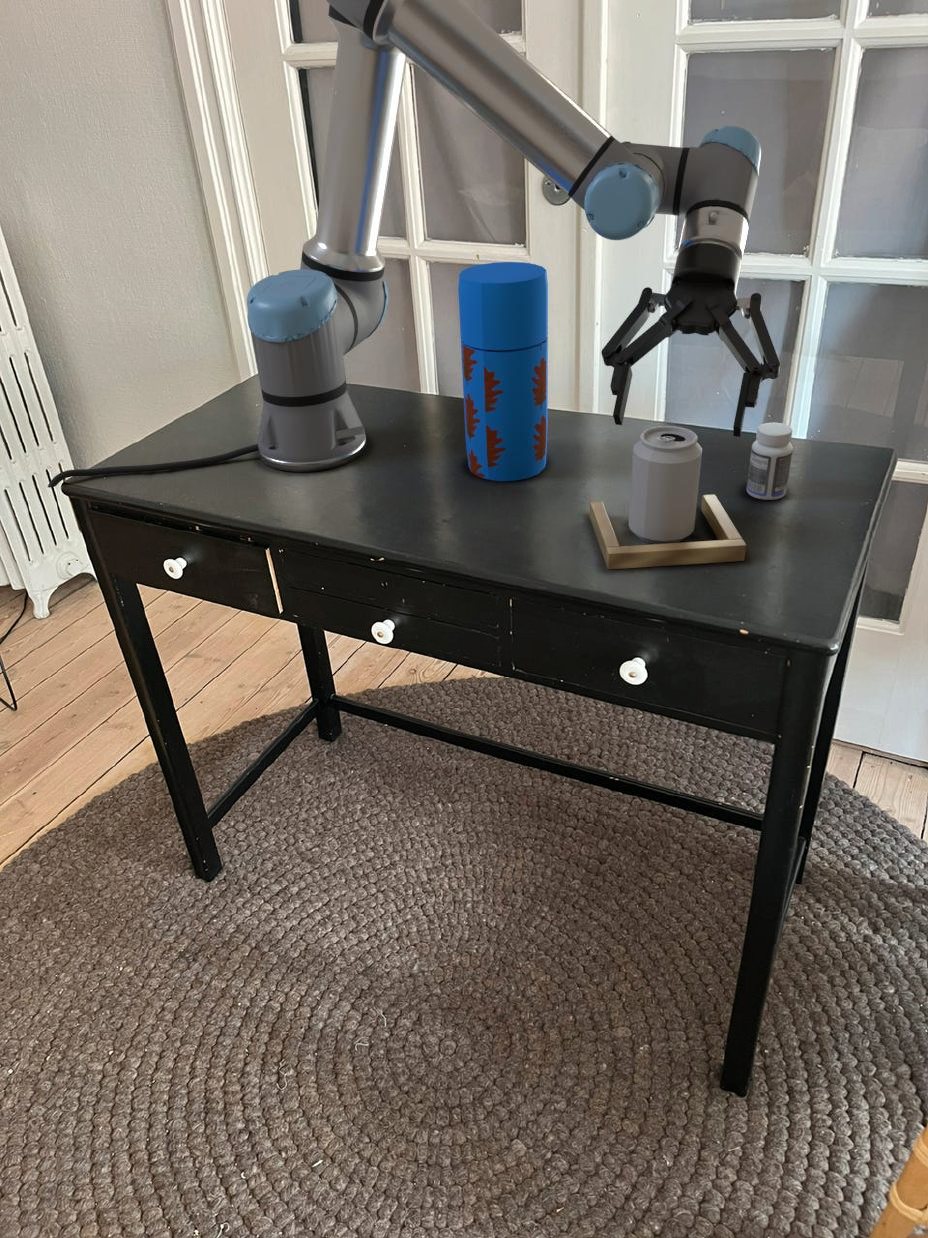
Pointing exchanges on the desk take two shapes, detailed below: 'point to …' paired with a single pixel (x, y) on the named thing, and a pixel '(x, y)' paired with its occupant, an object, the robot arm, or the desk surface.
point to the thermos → (505, 368)
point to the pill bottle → (770, 461)
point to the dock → (673, 553)
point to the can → (664, 484)
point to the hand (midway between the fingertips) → (675, 426)
